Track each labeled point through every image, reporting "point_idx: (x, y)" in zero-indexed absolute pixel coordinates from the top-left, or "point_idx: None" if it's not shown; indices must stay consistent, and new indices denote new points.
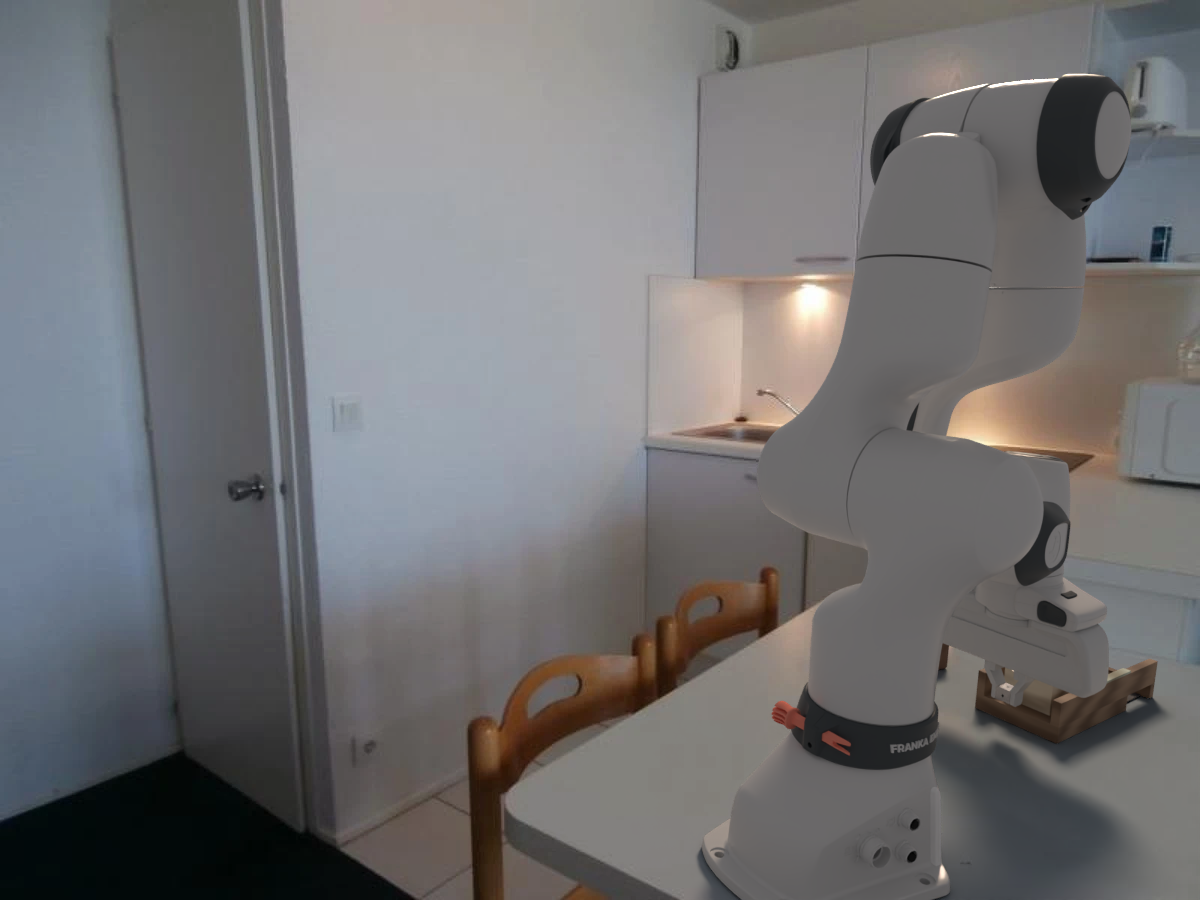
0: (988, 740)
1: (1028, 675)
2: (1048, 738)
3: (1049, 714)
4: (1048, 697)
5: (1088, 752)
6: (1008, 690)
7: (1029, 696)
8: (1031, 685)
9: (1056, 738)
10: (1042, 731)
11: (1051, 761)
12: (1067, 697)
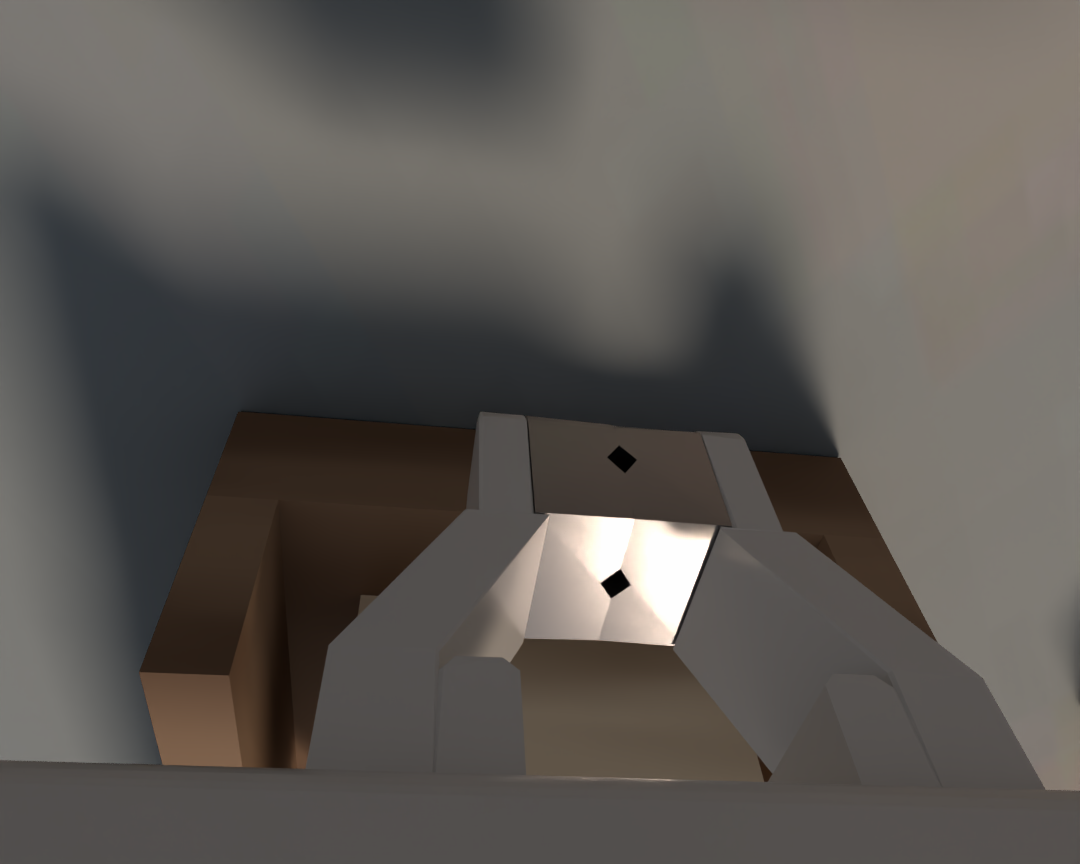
0: (585, 52)
1: (143, 787)
2: (297, 422)
3: (360, 602)
4: None
5: (64, 457)
6: (570, 520)
7: (522, 671)
8: None
9: (234, 434)
10: (343, 448)
11: (67, 130)
12: None
